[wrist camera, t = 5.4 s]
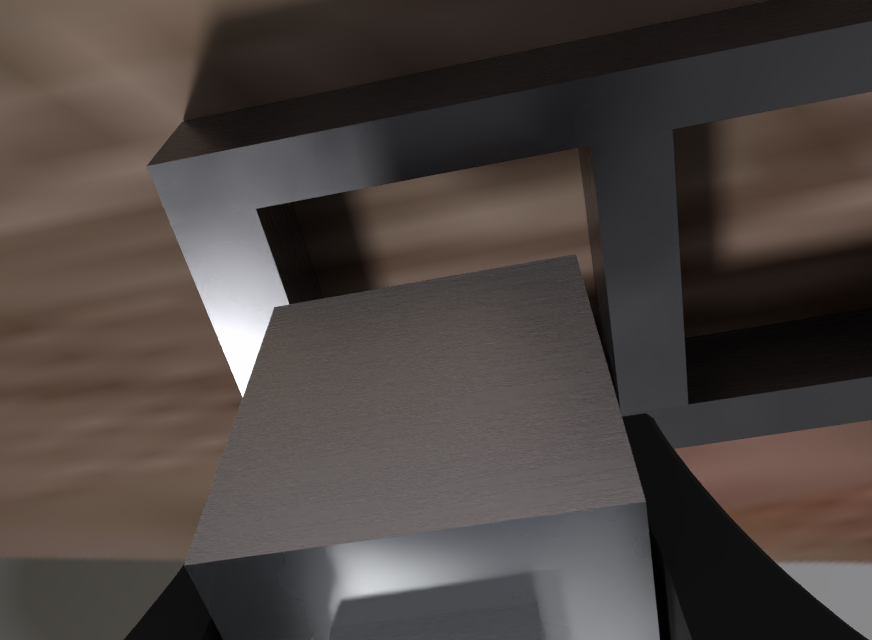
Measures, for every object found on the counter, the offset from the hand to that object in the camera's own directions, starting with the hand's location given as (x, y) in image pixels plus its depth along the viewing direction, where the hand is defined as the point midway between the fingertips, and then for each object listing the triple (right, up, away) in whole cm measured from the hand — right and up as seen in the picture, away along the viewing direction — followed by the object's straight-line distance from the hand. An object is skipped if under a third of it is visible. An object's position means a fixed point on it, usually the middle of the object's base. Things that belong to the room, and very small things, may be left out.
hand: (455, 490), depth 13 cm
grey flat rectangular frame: (+4, +5, +6) cm, 9 cm away
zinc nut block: (0, +1, +2) cm, 2 cm away
